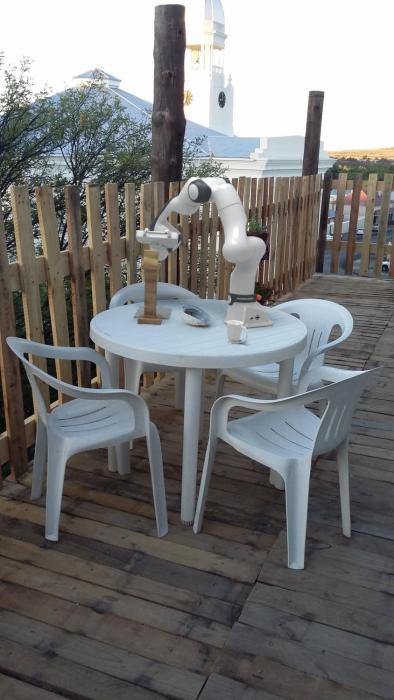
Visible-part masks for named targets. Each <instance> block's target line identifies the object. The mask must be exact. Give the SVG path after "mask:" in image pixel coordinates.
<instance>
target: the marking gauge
mask: <svg viewBox="0 0 394 700" xmlns="http://www.w3.org/2000/svg"><path fill="white" fill-rule="evenodd" d="M158 251H159V250H150V249H143V262H144V265H158V263H159V260H158Z"/></svg>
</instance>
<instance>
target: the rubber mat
mask: <svg viewBox="0 0 394 700" xmlns="http://www.w3.org/2000/svg"><path fill="white" fill-rule="evenodd" d="M171 308H172V307H160V306H156V315H162V320H169V319H170V315H171V313H170V312H172V309H171ZM140 314H144V306H143V305H141V306H138V309H137V310H136V311H135V314H134V316H133V318H135V319H138V318H139V316H140Z"/></svg>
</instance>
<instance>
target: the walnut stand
mask: <svg viewBox="0 0 394 700" xmlns="http://www.w3.org/2000/svg"><path fill="white" fill-rule="evenodd" d="M161 268H162V263H161V262H158V265H144V261H143V262H142V263H141V265H140V269H141V270H144V299H143V300H144V306H143V307H144V314H140V316H139V318H137V324H139V325H141V324H142V325H158V326H159V325H160V326H161V323H162V320H163V319H162V315H156V307H157V303H158V302H157V301H158V299H157V297H158V295H157V294H158V271H160V270H161Z"/></svg>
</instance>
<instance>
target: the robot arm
mask: <svg viewBox="0 0 394 700" xmlns="http://www.w3.org/2000/svg"><path fill="white" fill-rule="evenodd" d="M207 203H209V204H210V203H211V204H212V203H214V205H215V207H216V209H217V212H218V216H219V218H220V222H221V224H222V226H223V233H224V244H223V245H222V249H221V251H222V253H221V254H222V256H223V258H224V260H226V261H227V262H229V263H233V264H235V266H234V269H233V271H232V272H231V273H230V278H229V279H230V280H229V291H228V293H227V294H228V295H227V311H226V314H225V317H224V321H223V322H224V324H226V322H227V321H232V320H235V321H241V322H243V327H245V328H246V329H249V328H259V327H261V328H262V327H269V326H274V322H273V320H271V319H269V312H268V310H267V309H266V308H265V307H264V306H263V305H262V304H261V303H260V302H258V300H259V301H260V300H261V299H262V296H261V295H260V294H256V293H255V284H256V275H257V272H258V268H259V265H260V262H261V259H262V258H263V256H265V254H266V249H267V247H266V243H265V241H264V240H263V239H262V238H261V237H258V236H248V235H247V228H246V227H247V223H248V217H247V214H246V212H245V209H244V206H243V202H242V201H241V198H240V196H239V194H238V192H237V189H236V188H235V186H234V185H233V184H232V182H231V181H230V180H229V179H228V178H227V177H224V176H218V177H214V176H213V177H210V176H209V177H208V176H207V177H203V178H201V177H199V176H191V177H190V178H189V179H188V180H187V181H186V182H185V184H184V186H183V187H182V188H181V191H180V192H179V194H178V195H173V196H172V197H171V198H169V199H168V200H167V201H166V203H165V204H164V206H163V207H162V208H161V209H160V211H159V212H158V214H157V215H156V216H155V217H154V219H152V221H151V222H150V224H149V228H148V227H147V228H144V229H143V230H140V229H139V230H136V233H135V238H136V241H137V242H138V243H140V244H149V250H159V251H158V262H161V261H164V260H165V259H167V257H168V255H169V254H171V253H174V252H175V251H176V250H177V249H179V248H180V246H181V245H182V242H183V234H182V233H181V232H180V231H179V230H178V229H177V228H176V227H175V226H173V225H172V224H171V223H170V222H169V220H168V217H169V216H170V214H171V213H172V212H176V213H178V214H180V215H183V216H191V215H193V214H195V213H196V212H197V211H198V209H199V208H200V206H201V204H207Z"/></svg>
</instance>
